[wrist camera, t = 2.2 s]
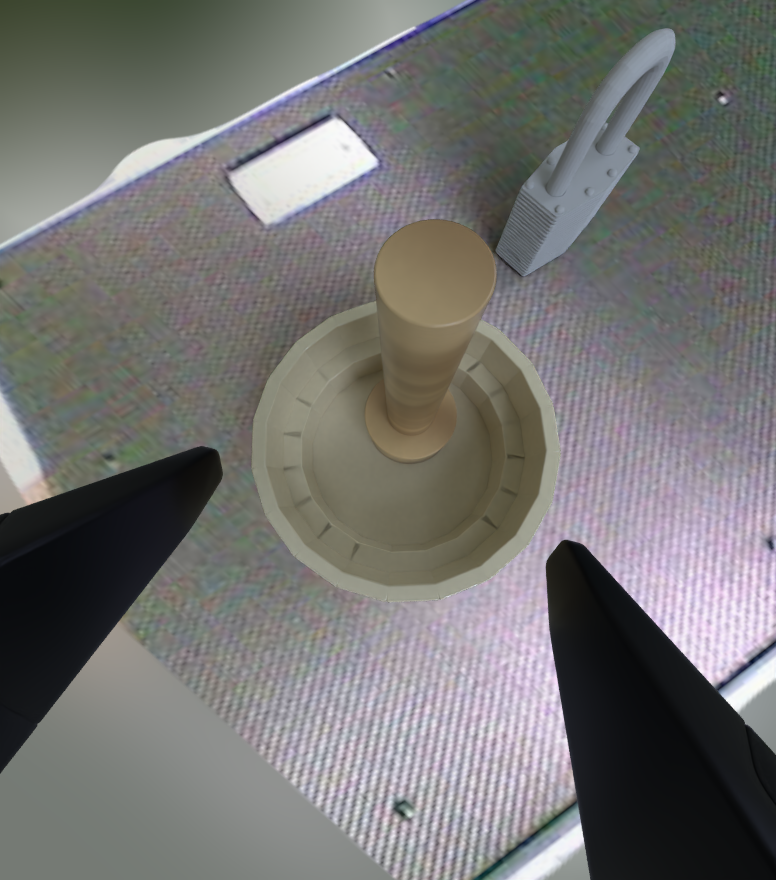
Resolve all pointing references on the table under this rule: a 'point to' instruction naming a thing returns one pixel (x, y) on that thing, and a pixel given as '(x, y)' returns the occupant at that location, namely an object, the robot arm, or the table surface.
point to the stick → (425, 333)
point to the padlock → (584, 161)
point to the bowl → (402, 466)
